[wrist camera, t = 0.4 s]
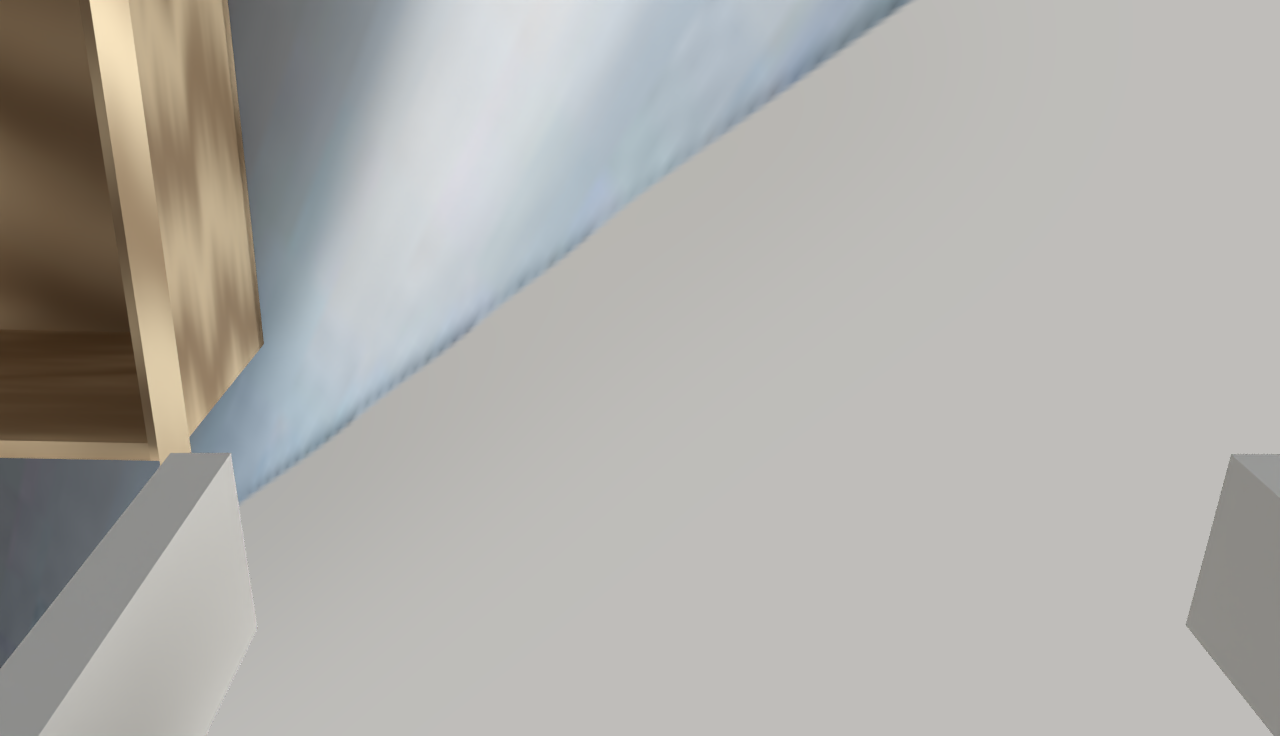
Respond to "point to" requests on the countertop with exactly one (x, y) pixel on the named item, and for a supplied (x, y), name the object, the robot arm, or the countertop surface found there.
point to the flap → (141, 221)
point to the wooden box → (116, 228)
